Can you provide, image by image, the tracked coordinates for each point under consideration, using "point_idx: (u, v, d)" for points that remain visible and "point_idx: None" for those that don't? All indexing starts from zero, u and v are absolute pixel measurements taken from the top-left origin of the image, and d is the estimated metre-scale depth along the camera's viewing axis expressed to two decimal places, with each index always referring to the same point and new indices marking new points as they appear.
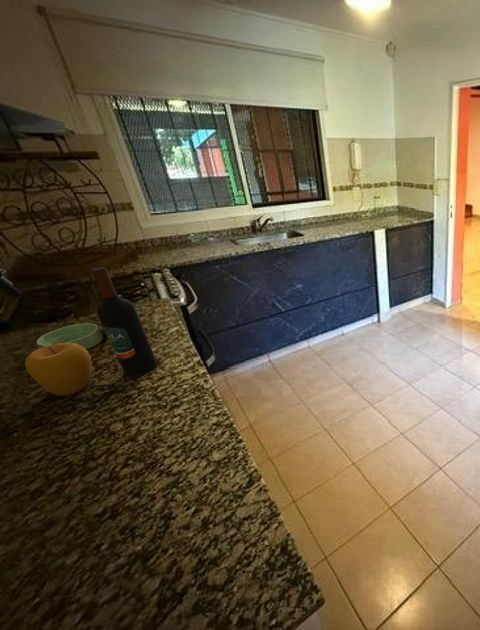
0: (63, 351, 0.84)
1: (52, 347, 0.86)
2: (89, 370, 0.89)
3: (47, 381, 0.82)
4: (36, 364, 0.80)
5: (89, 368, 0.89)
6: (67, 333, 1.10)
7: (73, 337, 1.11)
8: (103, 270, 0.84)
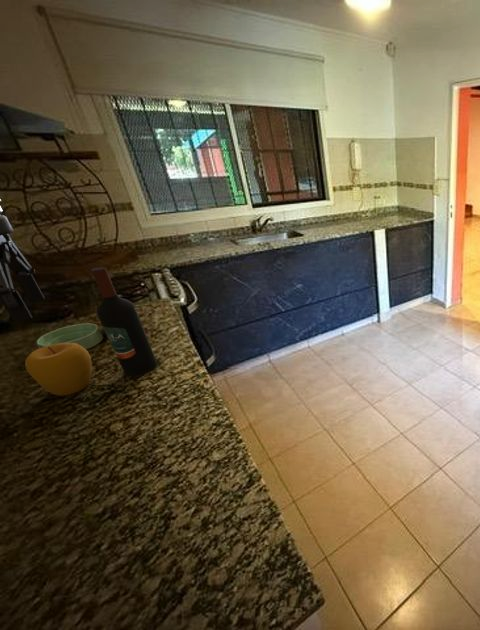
0: (63, 351, 0.84)
1: (52, 347, 0.86)
2: (89, 370, 0.89)
3: (47, 381, 0.82)
4: (36, 364, 0.80)
5: (89, 368, 0.89)
6: (67, 333, 1.10)
7: (73, 337, 1.11)
8: (103, 270, 0.84)
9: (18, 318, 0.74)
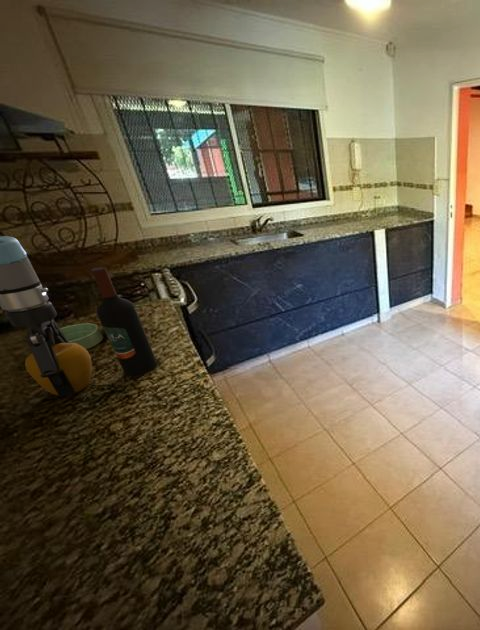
0: (63, 351, 0.84)
1: None
2: (89, 370, 0.89)
3: (47, 381, 0.82)
4: (36, 364, 0.80)
5: (89, 368, 0.89)
6: (67, 333, 1.10)
7: (73, 337, 1.11)
8: (103, 270, 0.84)
9: (63, 393, 0.84)
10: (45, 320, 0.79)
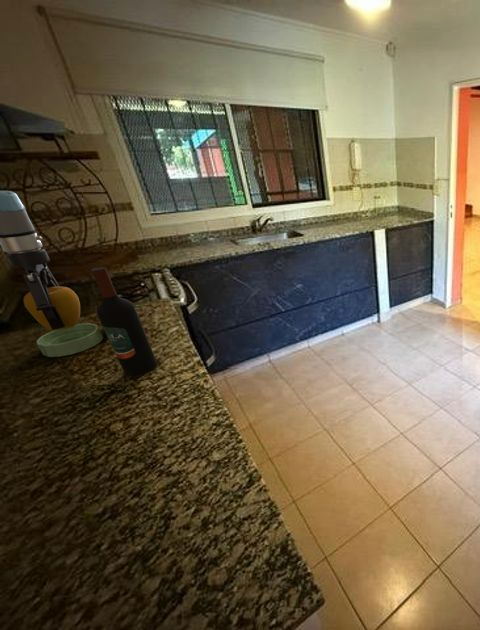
0: (55, 291, 1.00)
1: None
2: (78, 310, 1.05)
3: (42, 315, 0.98)
4: (32, 300, 0.96)
5: (78, 308, 1.05)
6: (67, 333, 1.10)
7: (73, 337, 1.11)
8: (103, 270, 0.84)
9: (55, 327, 0.99)
10: (40, 263, 0.95)
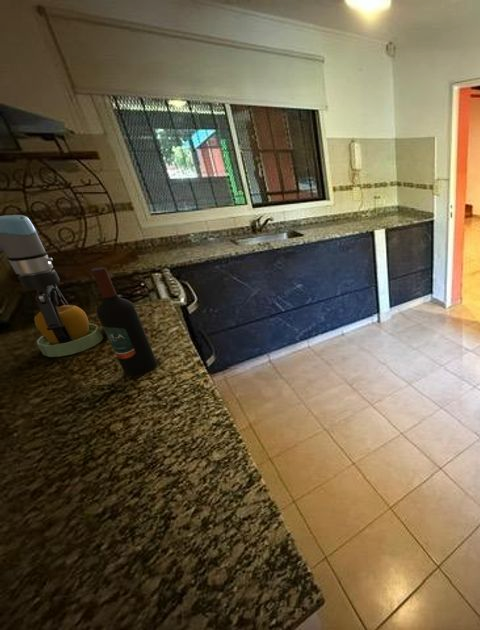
0: (65, 311, 1.02)
1: None
2: (86, 328, 1.07)
3: (52, 334, 1.01)
4: (43, 320, 0.99)
5: (87, 326, 1.07)
6: None
7: None
8: (103, 270, 0.84)
9: None
10: (50, 284, 0.98)
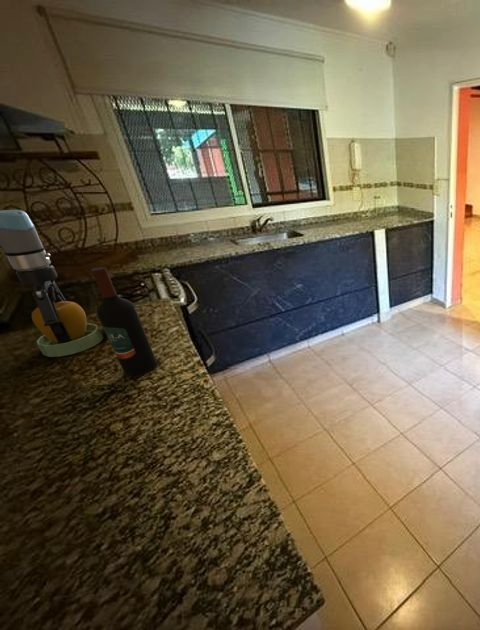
0: (63, 307, 1.02)
1: None
2: (84, 325, 1.07)
3: (50, 330, 1.00)
4: (40, 316, 0.98)
5: (84, 323, 1.07)
6: None
7: None
8: (103, 270, 0.84)
9: (62, 341, 1.02)
10: (48, 279, 0.97)
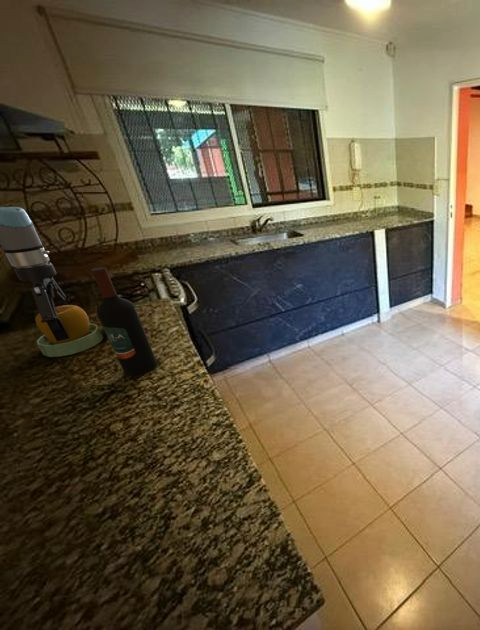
0: (66, 310, 1.03)
1: (57, 308, 1.05)
2: (87, 328, 1.08)
3: None
4: None
5: (87, 326, 1.08)
6: None
7: None
8: (103, 270, 0.84)
9: (59, 338, 1.00)
10: (47, 277, 0.97)
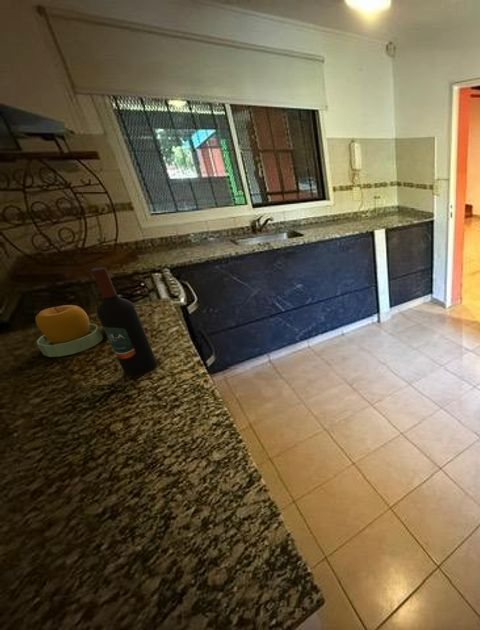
0: (66, 310, 1.03)
1: (57, 308, 1.05)
2: (87, 328, 1.08)
3: (53, 334, 1.01)
4: (44, 320, 1.00)
5: (87, 326, 1.08)
6: None
7: None
8: (103, 270, 0.84)
9: None
10: None
